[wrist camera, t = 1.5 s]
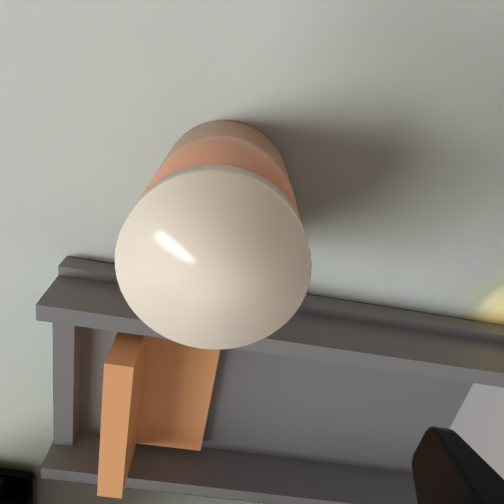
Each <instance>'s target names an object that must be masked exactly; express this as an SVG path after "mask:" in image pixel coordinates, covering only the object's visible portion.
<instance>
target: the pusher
mask: <svg viewBox="0 0 504 504" xmlns="http://www.w3.org/2000/svg"><path fill="white" fill-rule="evenodd" d="M219 354H220V349H216V350H211V349H200V348H195V347H190V346H186V345H183V344H180V343H177V342H175V341H172V340H170V339H163V338H156V337H150V336H143V335H136V334H129V333H122V332H117V335H116V337H115V339H114V342H113V344H112V346H111V349H110V351H109V353H108V356H107V358H106V360H105V363H104V375H103V393H102V411H101V430H100V448H99V466H98V485H97V496H102V497H111V498H120V499H122V495H123V491H124V488H125V484H126V480H127V477H128V473H129V469H130V465H131V462H132V458H133V454H134V450H135V447H136V443H139V444H147V445H156V446H164V447H172V448H180V449H188V450H197V451H200V450H201V445H202V440H203V435H204V430H205V425H206V420H207V415H208V410H209V405H210V400H211V395H212V390H213V385H214V379H215V374H216V369H217V364H218V359H219Z"/></svg>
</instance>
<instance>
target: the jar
mask: <svg viewBox="0 0 504 504" xmlns="http://www.w3.org/2000/svg"><path fill="white" fill-rule="evenodd" d="M311 265H312V264H311V253H310V249H309V245H308V241H307V238H306V234H305V231H304V227H303V224H302V221H301V217H300V214H299V210H298V207H297V204H296V200H295V197H294V193H293V190H292V187H291V183H290V180H289V176H288V173H287V170H286V166H285V163H284V160H283V158H282V156H281V154H280V152H279V150H278V149H277V147H276V146H275V145H274V143H273V142H272V141H271V140H270V139H269V138H268V137H267V136H266V135H265V134H263V133H262V132H261V131H259V130H257V129H256V128H254V127H252V126H250V125H247V124H245V123H241V122H237V121H230V120H217V121H211V122H207V123H204V124H201V125H199V126H196V127H194V128H193V129H191V130H189V131H188V132H186V133H185V134H184V135H183V136H182V137H181V138H180V139H179V140H178V141H177V142H176V143H175V145H174V146H173V148H172V149H171V151H170V152H169V154H168V155H167V157H166V158H165V160H164V162H163V163H162V165H161V166H160V168H159V169H158V171H157V172H156V174H155V176H154V177H153V179H152V180H151V182H150V183H149V185H148V187H147V188H146V190H145V191H144V193H143V194H142V196H141V198H140V199H139V201H138V202H137V204H136V205H135V207H134V208H133V210H132V212H131V213H130V215H129V216H128V218H127V219H126V221H125V223H124V225H123V227H122V229H121V231H120V233H119V237H118V240H117V244H116V250H115V271H116V277H117V281H118V284H119V287H120V290H121V292H122V294H123V296H124V298H125V300H126V302H127V303H128V305H129V306H130V308H131V309H132V310H133V312H134V313H135V314H136V315H137V316H138V317H139V318H140V319H141V320H142V321H143V322H144V323H145V324H146V325H147V326H149V327H150V328H151V329H153V330H154V331H155V332H157V333H159V334H160V335H162V336H164V337H166V338H168V339H170V340H172V341H175V342H177V343H180V344H183V345H186V346H190V347H195V348H200V349H211V350H216V349H231V348H237V347H242V346H246V345H249V344H252V343H255V342H258V341H260V340H262V339H264V338H266V337H268V336H269V335H271V334H273V333H274V332H276V331H277V330H278V329H280V328H281V327H282V326H283V325H284V324H286V323H287V322H288V321H289V319H290V318H291V317H292V316H293V315H294V314H295V312H296V311H297V310H298V308H299V307H300V305H301V303H302V301H303V299H304V298H305V295H306V292H307V290H308V287H309V282H310V277H311Z"/></svg>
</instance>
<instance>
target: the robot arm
mask: <svg viewBox="0 0 504 504" xmlns="http://www.w3.org/2000/svg"><path fill="white" fill-rule="evenodd" d="M412 472H413V478H414V484H415V490H416V496H417V503H418V504H504V479H503V478H502V477H501V476H500V475H499V474H498V473H497V472H496V471H495V470H494V469H493V468H492V467H491V466H490V465H489V464H488V463H487V462H486V461H485V460H484V459H483V458H481V457H480V456H479V455H478V454H477V453H476V452H475V451H474V450H473V449H472V448H471V447H470V446H469V445H468V444H467V443H466V442H465V441H464V440H463V439H462V438H461V437H460V436H459V435H458V434H457V433H456V432H455V431H453V430H452V429H449V428H442V427H435V426H432V427H429V428H428V429H427V430H426V431H425V433H424V435H423V437H422V439H421V441H420V443H419V445H418V446H417V448H416V450H415V452H414V454H413V458H412ZM0 504H37V500H36V477H35V475H34V474H33V473H31V472H26V471H18V470H9V469H0Z"/></svg>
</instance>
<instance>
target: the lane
mask: <svg viewBox="0 0 504 504" xmlns="http://www.w3.org/2000/svg"><path fill="white" fill-rule="evenodd" d="M36 320H39V321H45V322H52V323H53V404H54V441H53V443H52V445H51V447H50V449H49V451H48V454H47V456H46V458H45V460H44V462H43V464H42V466H41V478H44V479H53V480H61V481H70V482H79V483H88V484H97V485H98V466H99V448H100V430H101V411H102V393H103V375H104V363H105V360H106V358H107V356H108V353H109V351H110V349H111V346H112V344H113V342H114V339H115V337H116V335H117V332H122V333H129V334H136V335H143V336H150V337H156V338H163V339H168V338H166V337H164V336H162V335H160V334H159V333H157V332H155V331H154V330H153V329H151V328H150V327H149V326H147V325H146V324H145V323H144V322H143V321H142V320H141V319H140V318H139V317H138V316H137V315H136V314H135V313H134V312H133V310H132V309H131V308H130V306H129V305H128V303H127V302H126V300H125V298H124V296H123V294H122V292H121V290H120V287H119V284H118V281H117V277H116V271H115V264H111V263H105V262H98V261H92V260H86V259H79V258H73V257H67V256H66V257H65V259H64V260H63V261H62V262H61V264H60V265H59V275H58V277H57V278H56V279H55V281H54V282H53V283H52V284H51V286H50V287H49V288H48V290H47V291H46V292H45V294H44V295H43V296H42V297H41V299H40V300H39V301H38V303H37V304H36ZM432 426H435V427H442V428H449V429H452V430H453V431H455V432H456V433H457V434H458V435H459V436H460V437H461V438H462V439H463V440H464V441H465V442H466V443H467V444H468V445H469V446H470V447H471V448H472V449H473V450H474V451H475V452H476V453H477V454H478V455H479V456H480V457H481V458H483V459H484V460H485V461H486V462H487V463H488V464H489V465H490V466H491V467H492V468H493V469H494V470H495V471H496V472H497V473H498V474H499V475H500V476H501V477H502V478H503V479H504V325H497V324H491V323H485V322H478V321H472V320H466V319H459V318H453V317H447V316H440V315H434V314H428V313H421V312H415V311H409V310H402V309H396V308H390V307H383V306H377V305H371V304H364V303H358V302H352V301H345V300H339V299H333V298H326V297H320V296H314V295H307V294H306V295H305V298H304V299H303V301H302V303H301V305H300V307H299V308H298V310H297V311H296V312H295V314H294V315H293V316H292V317H291V318H290V319H289V321H288V322H287V323H286V324H284V325H283V326H282V327H281V328H280V329H278V330H277V331H276V332H274V333H273V334H271V335H269V336H268V337H266V338H264V339H262V340H260V341H258V342H255V343H252V344H249V345H246V346H242V347H237V348H231V349H220V354H219V359H218V364H217V369H216V374H215V379H214V385H213V390H212V395H211V400H210V405H209V410H208V415H207V420H206V425H205V430H204V435H203V440H202V445H201V450H200V451H197V450H188V449H180V448H172V447H164V446H156V445H147V444H139V443H136V447H135V450H134V454H133V458H132V462H131V465H130V469H129V473H128V477H127V480H126V484H125V488H133V489H142V490H151V491H159V492H168V493H177V494H186V495H195V496H204V497H213V498H222V499H231V500H240V501H248V502H257V503H266V504H418V503H417V496H416V490H415V484H414V478H413V472H412V458H413V454H414V452H415V450H416V448H417V446H418V445H419V443H420V441H421V439H422V437H423V435H424V433H425V431H426V430H427V429H428V428H429V427H432Z"/></svg>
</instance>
